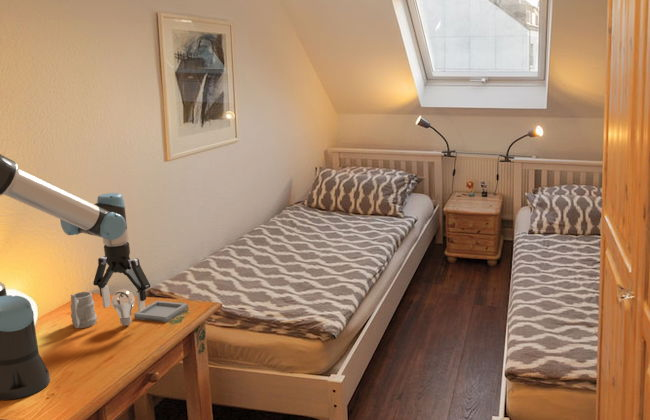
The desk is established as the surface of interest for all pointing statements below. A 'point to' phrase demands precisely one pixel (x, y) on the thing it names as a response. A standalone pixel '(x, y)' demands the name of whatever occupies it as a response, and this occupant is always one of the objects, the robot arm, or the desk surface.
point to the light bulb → (123, 305)
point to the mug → (83, 310)
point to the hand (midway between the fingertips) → (124, 308)
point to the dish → (161, 311)
